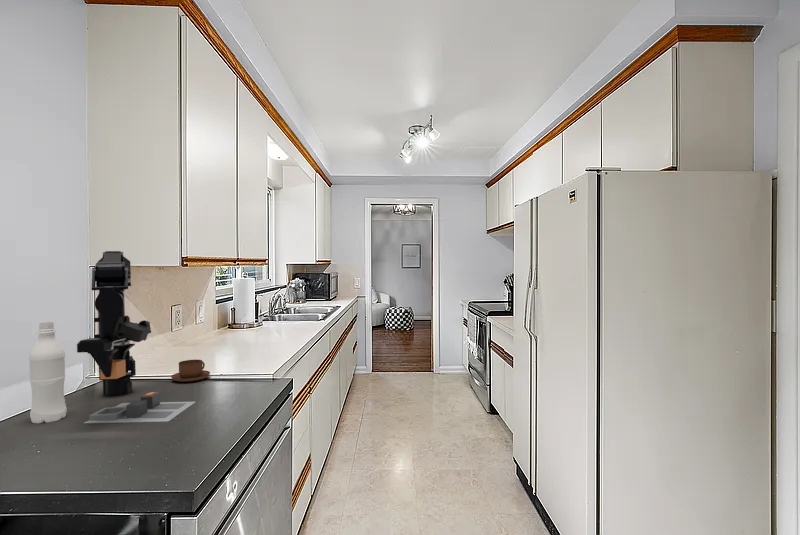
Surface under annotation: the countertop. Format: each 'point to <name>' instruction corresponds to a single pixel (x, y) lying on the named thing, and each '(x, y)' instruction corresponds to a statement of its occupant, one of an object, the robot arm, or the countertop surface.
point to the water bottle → (47, 376)
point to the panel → (176, 411)
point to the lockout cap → (116, 370)
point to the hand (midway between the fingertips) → (113, 375)
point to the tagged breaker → (151, 399)
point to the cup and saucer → (190, 371)
